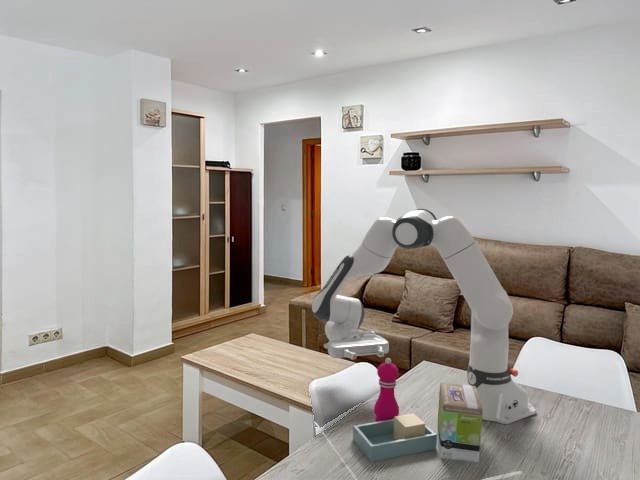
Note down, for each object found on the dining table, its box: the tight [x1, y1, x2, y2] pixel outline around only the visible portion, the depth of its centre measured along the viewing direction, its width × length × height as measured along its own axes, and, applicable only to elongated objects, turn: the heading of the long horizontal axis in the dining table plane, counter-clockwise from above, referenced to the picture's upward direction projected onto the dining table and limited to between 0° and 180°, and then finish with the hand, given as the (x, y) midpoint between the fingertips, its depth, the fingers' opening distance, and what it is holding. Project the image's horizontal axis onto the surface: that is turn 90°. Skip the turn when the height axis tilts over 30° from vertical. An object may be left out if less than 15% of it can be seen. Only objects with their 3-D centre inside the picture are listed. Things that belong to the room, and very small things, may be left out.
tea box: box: [436, 382, 483, 463], centre depth 125 cm, size 15×10×15 cm, turn 168°
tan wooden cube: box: [393, 413, 426, 440], centre depth 127 cm, size 6×6×6 cm
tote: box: [352, 419, 438, 463], centre depth 125 cm, size 19×11×4 cm, turn 110°
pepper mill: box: [373, 357, 400, 422], centre depth 136 cm, size 7×7×20 cm
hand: (368, 355), depth 147 cm, fingers open, 8 cm apart
